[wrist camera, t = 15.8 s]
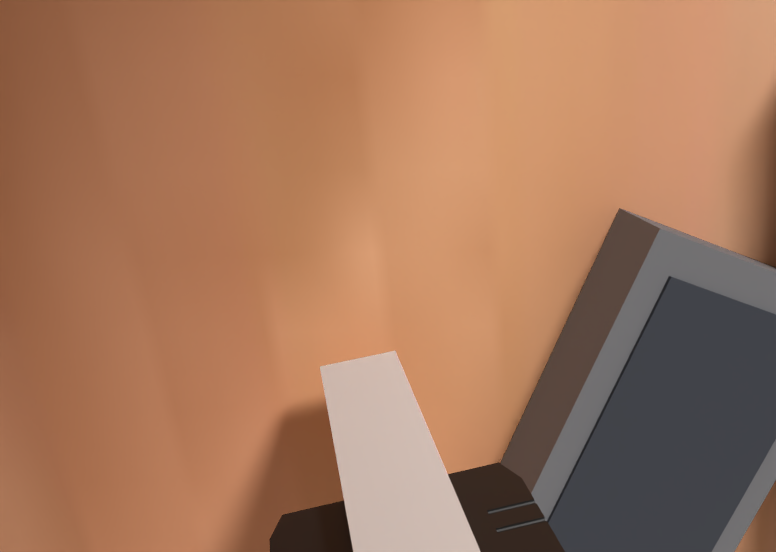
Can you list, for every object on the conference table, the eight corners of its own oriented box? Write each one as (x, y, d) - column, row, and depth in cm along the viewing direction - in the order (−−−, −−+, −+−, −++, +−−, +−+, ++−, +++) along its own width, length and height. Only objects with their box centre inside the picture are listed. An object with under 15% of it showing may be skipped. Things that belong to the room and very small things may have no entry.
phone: (614, 205, 16) (662, 229, 14) (808, 279, 18) (876, 311, 16) (442, 574, 19) (463, 637, 17) (625, 613, 20) (665, 677, 18)
